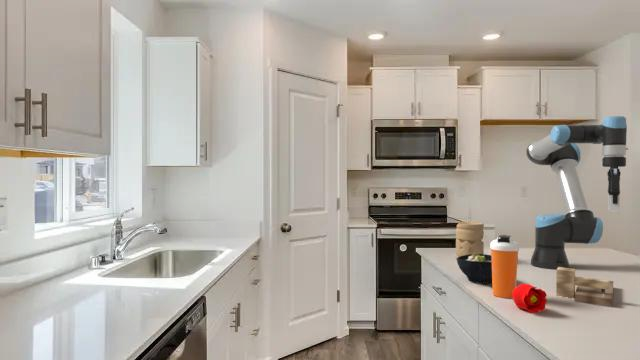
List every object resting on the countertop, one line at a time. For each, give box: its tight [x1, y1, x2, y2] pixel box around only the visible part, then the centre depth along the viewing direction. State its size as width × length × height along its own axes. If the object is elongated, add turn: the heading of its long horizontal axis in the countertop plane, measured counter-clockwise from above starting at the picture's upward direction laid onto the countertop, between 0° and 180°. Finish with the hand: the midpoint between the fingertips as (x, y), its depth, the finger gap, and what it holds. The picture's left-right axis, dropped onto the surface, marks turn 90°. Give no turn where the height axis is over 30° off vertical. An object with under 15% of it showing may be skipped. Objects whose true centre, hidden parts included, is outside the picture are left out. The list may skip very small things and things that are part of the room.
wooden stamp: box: [555, 267, 610, 299], centre depth 140 cm, size 14×5×9 cm, turn 55°
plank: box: [573, 280, 614, 308], centre depth 144 cm, size 10×28×2 cm, turn 145°
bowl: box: [456, 254, 492, 284], centre depth 163 cm, size 17×17×10 cm
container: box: [455, 221, 485, 261], centre depth 203 cm, size 13×13×18 cm
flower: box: [512, 283, 548, 314], centre depth 128 cm, size 8×8×8 cm
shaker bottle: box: [489, 234, 520, 299], centre depth 142 cm, size 9×9×20 cm
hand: (613, 211), depth 164 cm, fingers open, 13 cm apart
